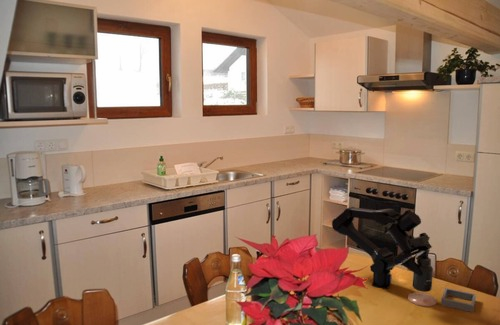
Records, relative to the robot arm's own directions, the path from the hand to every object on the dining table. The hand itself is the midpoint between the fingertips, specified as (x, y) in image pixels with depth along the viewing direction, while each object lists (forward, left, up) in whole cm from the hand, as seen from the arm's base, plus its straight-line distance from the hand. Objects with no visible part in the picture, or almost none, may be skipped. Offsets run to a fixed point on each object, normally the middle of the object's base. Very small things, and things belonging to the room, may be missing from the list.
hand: (426, 273), depth 156 cm
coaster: (-1, 0, -11) cm, 11 cm away
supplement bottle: (-1, 0, -7) cm, 7 cm away
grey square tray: (+11, +5, -11) cm, 17 cm away
